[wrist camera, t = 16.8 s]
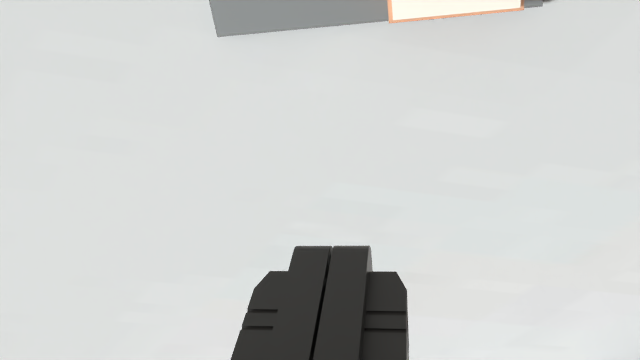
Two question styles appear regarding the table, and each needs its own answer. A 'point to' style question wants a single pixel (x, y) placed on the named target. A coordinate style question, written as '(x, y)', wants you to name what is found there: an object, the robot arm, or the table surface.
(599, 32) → the table surface
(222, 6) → the mat
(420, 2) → the tile
